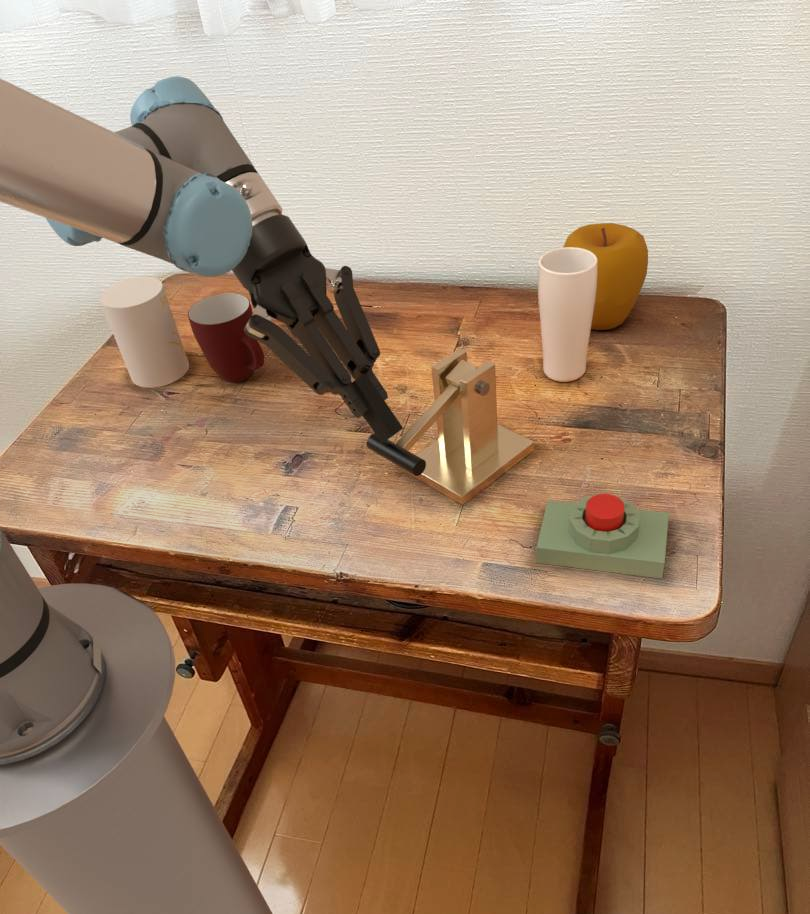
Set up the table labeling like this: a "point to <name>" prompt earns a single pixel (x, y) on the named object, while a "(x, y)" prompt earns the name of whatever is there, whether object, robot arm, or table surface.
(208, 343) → the mug
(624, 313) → the apple
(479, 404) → the power switch
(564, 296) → the drinking glass
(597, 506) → the stop button
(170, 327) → the cup
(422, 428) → the lever
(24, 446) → the table surface
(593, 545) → the control pad
